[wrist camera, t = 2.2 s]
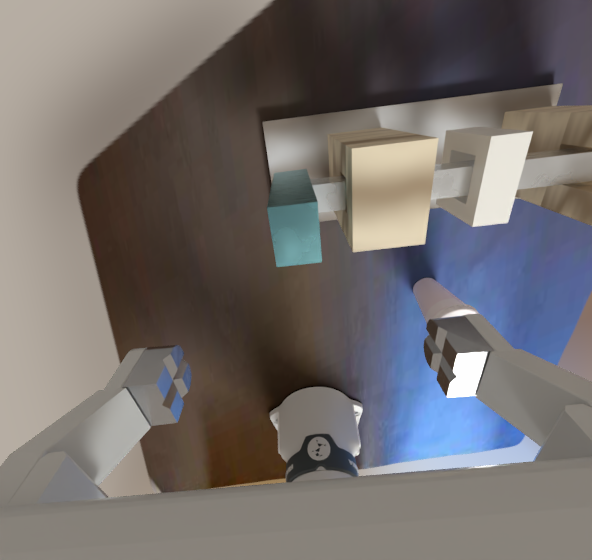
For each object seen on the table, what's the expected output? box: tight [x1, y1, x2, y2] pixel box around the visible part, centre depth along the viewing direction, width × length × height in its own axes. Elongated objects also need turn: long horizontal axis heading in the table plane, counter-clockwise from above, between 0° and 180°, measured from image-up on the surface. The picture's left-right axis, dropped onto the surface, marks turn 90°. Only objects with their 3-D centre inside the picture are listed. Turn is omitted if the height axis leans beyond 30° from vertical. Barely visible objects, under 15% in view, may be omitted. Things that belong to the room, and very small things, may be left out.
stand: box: [263, 84, 592, 252], centre depth 28 cm, size 12×32×15 cm, turn 96°
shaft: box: [267, 147, 592, 267], centre depth 22 cm, size 4×27×11 cm, turn 96°
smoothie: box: [413, 278, 479, 333], centre depth 38 cm, size 6×6×14 cm
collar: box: [436, 127, 533, 227], centre depth 26 cm, size 7×3×7 cm, turn 6°
